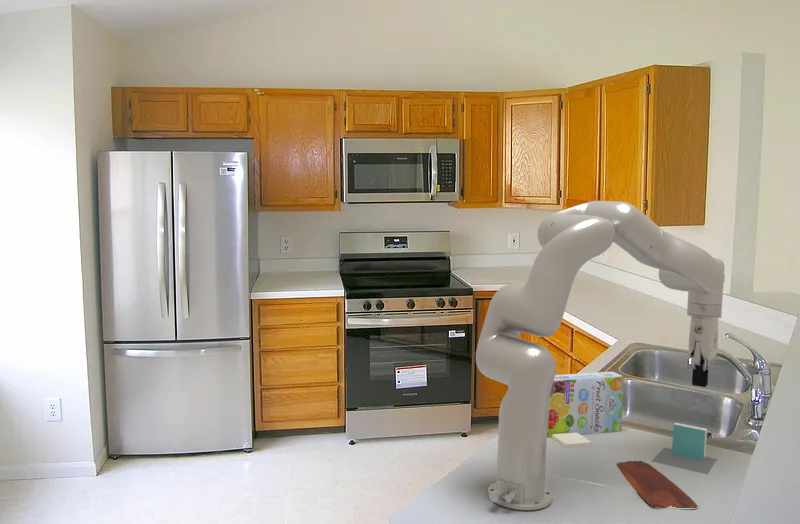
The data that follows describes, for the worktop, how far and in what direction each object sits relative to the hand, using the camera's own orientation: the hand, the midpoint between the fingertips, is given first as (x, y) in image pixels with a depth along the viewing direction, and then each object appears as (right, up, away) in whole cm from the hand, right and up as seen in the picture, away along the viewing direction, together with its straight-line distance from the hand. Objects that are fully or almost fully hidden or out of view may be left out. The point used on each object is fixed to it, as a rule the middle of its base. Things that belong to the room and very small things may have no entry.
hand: (699, 385), depth 170 cm
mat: (-6, -17, -6) cm, 19 cm away
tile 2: (-4, -16, -4) cm, 17 cm away
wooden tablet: (-18, -18, -18) cm, 32 cm away
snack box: (-26, -14, +12) cm, 32 cm away
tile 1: (-30, -15, +4) cm, 34 cm away
